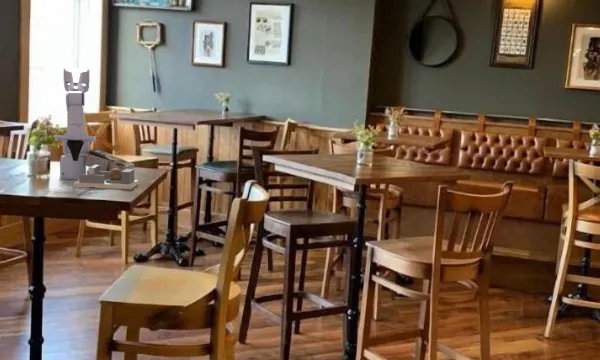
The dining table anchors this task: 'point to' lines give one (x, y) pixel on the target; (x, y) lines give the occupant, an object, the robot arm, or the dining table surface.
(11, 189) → the dining table surface
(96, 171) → the block
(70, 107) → the robot arm
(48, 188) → the dining table surface
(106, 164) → the coffee box
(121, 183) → the press board
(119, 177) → the tan brown ball
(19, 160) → the dining table surface
